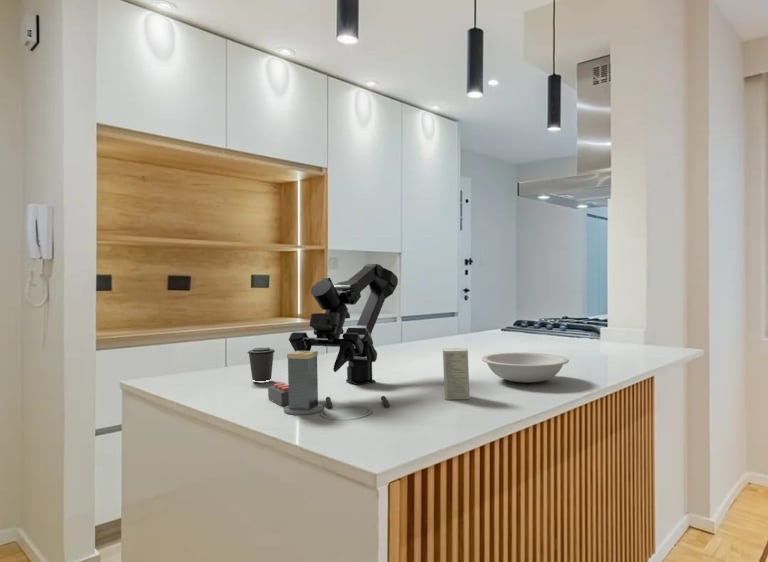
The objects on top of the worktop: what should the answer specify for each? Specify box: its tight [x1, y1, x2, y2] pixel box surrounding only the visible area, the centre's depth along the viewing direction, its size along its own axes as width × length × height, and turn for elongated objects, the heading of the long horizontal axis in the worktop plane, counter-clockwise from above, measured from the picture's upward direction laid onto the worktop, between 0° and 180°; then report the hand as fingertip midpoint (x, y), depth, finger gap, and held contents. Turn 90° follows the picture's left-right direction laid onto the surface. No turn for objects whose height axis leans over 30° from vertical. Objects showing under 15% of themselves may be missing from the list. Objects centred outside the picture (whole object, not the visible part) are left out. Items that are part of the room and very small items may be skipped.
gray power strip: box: [267, 382, 289, 407], centre depth 130 cm, size 9×4×4 cm, turn 33°
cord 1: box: [325, 396, 332, 409], centre depth 125 cm, size 7×1×1 cm, turn 8°
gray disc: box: [283, 403, 324, 416], centre depth 121 cm, size 9×9×1 cm
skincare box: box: [442, 347, 470, 400], centre depth 130 cm, size 6×4×12 cm
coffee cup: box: [247, 347, 276, 381], centre depth 156 cm, size 8×8×10 cm
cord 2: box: [380, 395, 391, 408], centre depth 125 cm, size 7×1×1 cm, turn 8°
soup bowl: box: [481, 352, 569, 384], centre depth 149 cm, size 24×24×7 cm
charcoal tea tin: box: [286, 350, 319, 411], centre depth 121 cm, size 5×5×13 cm
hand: (317, 370), depth 128 cm, fingers open, 9 cm apart
